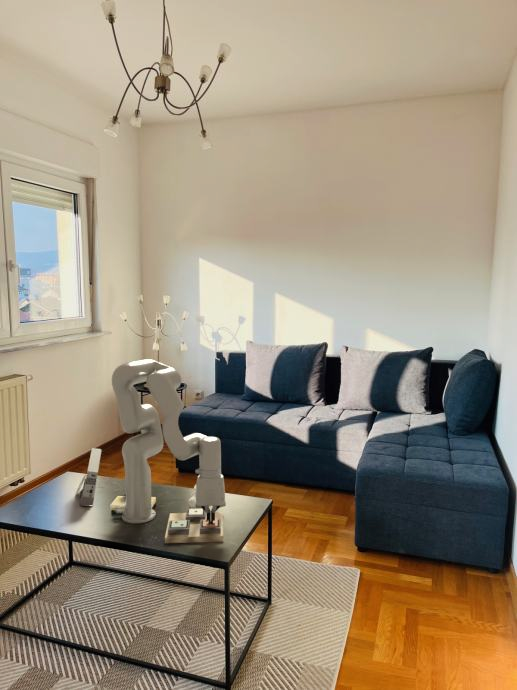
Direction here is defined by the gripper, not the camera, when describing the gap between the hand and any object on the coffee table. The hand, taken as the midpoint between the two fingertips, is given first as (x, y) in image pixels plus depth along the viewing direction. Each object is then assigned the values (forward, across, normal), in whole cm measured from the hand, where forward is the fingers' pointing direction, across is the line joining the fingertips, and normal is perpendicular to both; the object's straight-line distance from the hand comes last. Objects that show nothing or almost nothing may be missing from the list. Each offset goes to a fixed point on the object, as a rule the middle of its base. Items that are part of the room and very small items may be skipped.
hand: (210, 522), depth 189 cm
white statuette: (+5, -6, +27) cm, 28 cm away
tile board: (+4, -6, +5) cm, 9 cm away
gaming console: (+4, -52, +37) cm, 63 cm away
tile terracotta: (+2, 0, 0) cm, 2 cm away
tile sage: (+2, -11, 0) cm, 11 cm away
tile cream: (+2, -6, +10) cm, 12 cm away
